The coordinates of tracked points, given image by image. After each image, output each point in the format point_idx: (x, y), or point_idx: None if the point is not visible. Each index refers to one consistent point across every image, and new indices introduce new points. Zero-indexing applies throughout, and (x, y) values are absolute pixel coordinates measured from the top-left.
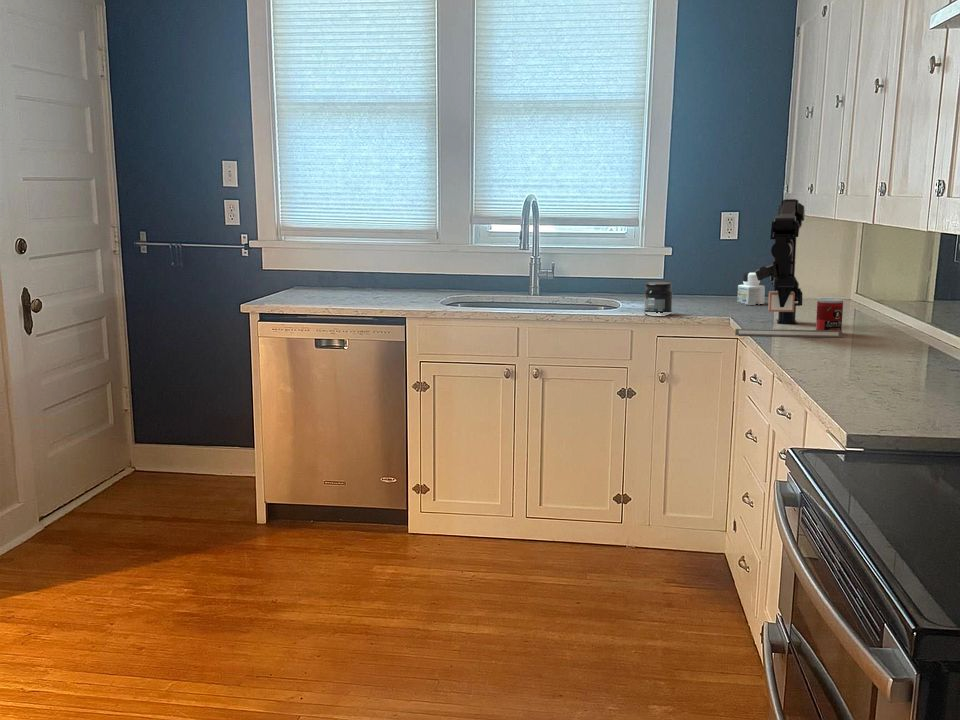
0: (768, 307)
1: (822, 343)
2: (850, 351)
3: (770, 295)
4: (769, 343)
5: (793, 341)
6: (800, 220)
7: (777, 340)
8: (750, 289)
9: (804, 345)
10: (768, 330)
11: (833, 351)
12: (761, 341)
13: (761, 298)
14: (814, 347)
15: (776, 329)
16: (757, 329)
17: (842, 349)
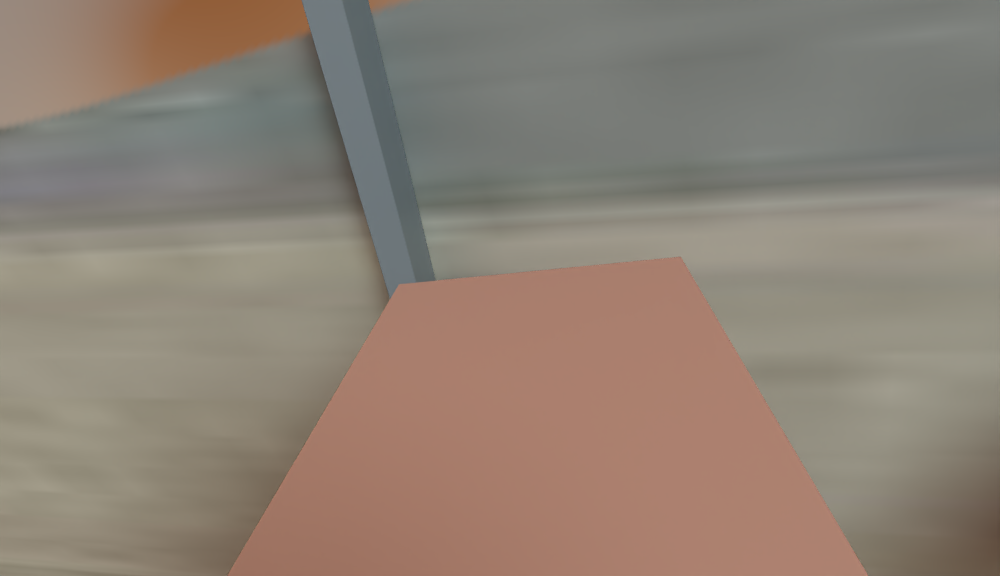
0: (625, 284)
1: (237, 497)
2: (86, 570)
3: (244, 569)
4: (16, 217)
5: (214, 367)
6: None
7: (192, 267)
8: None
9: (105, 420)
10: (363, 199)
11: (30, 521)
12: (61, 146)
13: None
14: (78, 460)
15: (409, 273)
16: (332, 76)
17: (114, 552)
